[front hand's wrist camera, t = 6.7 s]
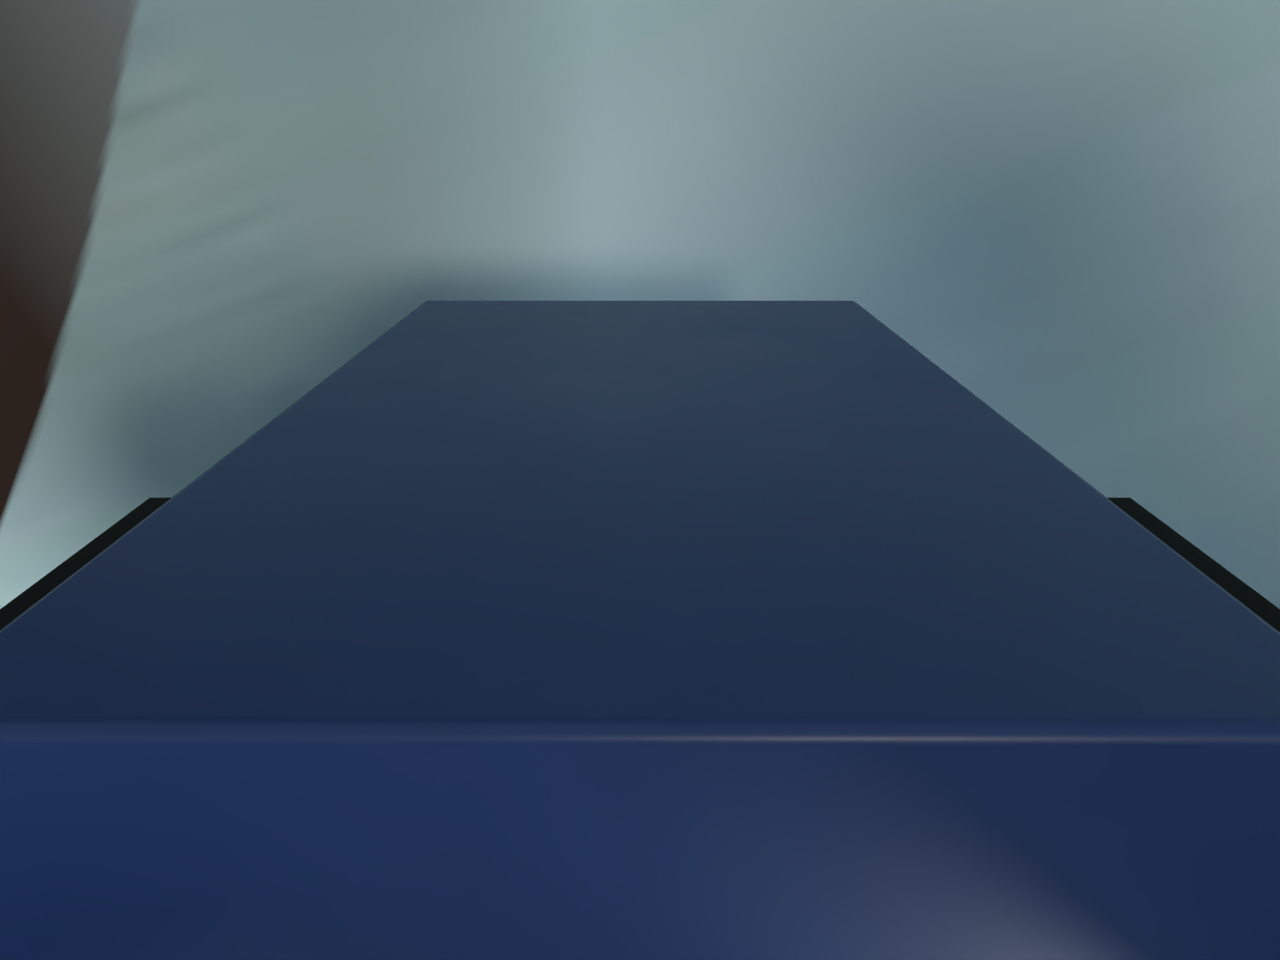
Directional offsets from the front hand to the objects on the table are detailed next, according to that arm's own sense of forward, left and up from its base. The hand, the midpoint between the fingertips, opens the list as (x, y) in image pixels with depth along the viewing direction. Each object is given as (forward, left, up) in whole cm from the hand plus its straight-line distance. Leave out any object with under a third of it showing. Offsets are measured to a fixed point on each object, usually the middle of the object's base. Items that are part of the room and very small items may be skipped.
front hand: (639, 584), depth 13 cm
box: (+5, +5, -4) cm, 8 cm away
